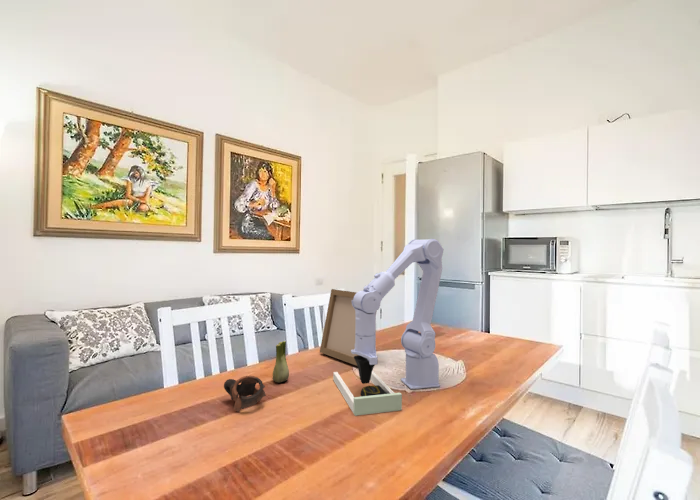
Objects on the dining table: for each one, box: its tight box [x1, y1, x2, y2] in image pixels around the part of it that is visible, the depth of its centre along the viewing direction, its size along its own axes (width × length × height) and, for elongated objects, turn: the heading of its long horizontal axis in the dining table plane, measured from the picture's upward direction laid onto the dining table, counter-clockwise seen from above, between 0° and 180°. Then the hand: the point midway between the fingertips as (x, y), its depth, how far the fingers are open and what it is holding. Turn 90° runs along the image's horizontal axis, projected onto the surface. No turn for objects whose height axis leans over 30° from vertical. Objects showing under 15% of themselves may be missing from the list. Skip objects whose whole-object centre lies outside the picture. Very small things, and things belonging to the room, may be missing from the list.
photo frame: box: [319, 288, 378, 367], centre depth 133 cm, size 15×22×25 cm
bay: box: [332, 369, 403, 417], centre depth 100 cm, size 12×24×4 cm, turn 15°
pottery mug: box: [223, 375, 267, 413], centre depth 92 cm, size 12×10×8 cm
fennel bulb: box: [271, 340, 290, 384], centre depth 109 cm, size 6×5×12 cm
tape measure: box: [360, 385, 387, 397], centre depth 94 cm, size 7×7×4 cm
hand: (365, 382), depth 99 cm, fingers closed
